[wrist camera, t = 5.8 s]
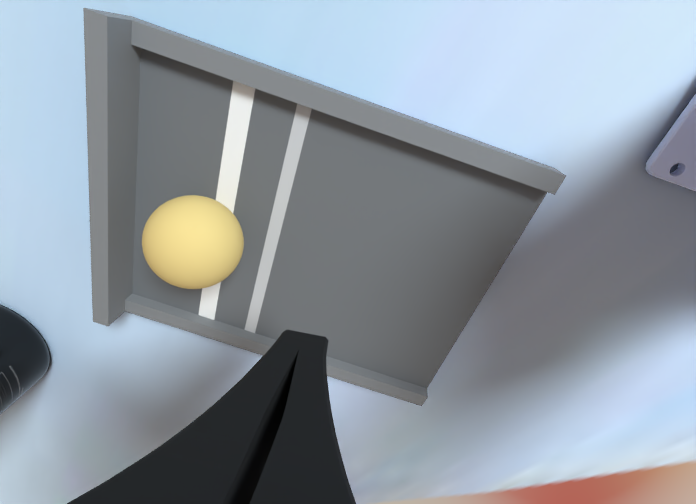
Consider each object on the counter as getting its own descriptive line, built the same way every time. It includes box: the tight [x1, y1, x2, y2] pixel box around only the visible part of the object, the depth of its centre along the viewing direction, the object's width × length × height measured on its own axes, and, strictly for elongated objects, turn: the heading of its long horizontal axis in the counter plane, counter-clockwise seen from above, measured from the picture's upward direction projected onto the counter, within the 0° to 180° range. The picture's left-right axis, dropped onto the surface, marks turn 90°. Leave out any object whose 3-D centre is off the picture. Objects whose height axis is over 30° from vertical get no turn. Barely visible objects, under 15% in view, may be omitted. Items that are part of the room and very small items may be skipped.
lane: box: [84, 8, 566, 406], centre depth 17 cm, size 18×14×2 cm
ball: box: [142, 195, 244, 289], centre depth 16 cm, size 4×4×4 cm
